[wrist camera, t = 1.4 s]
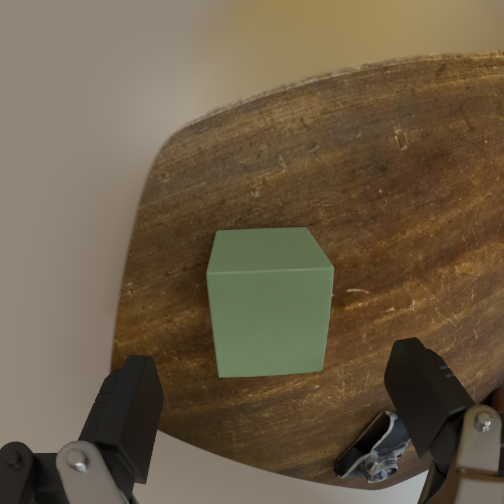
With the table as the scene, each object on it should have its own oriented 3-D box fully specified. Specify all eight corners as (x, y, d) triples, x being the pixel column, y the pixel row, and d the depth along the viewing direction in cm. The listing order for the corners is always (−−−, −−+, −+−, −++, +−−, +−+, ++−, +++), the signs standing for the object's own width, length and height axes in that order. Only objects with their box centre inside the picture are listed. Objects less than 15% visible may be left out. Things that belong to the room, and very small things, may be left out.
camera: (426, 403, 21) (444, 436, 17) (368, 463, 25) (378, 493, 21) (386, 403, 21) (403, 441, 17) (329, 465, 24) (336, 498, 20)
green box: (216, 229, 15) (205, 273, 10) (306, 226, 15) (335, 267, 10) (223, 315, 17) (218, 378, 12) (303, 311, 17) (322, 371, 12)
